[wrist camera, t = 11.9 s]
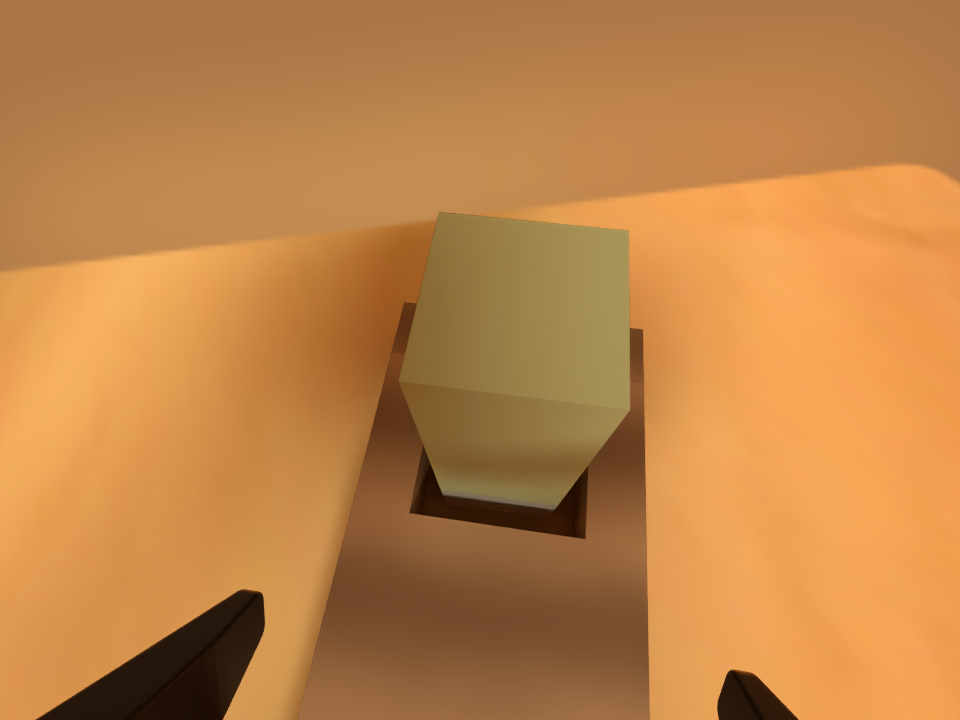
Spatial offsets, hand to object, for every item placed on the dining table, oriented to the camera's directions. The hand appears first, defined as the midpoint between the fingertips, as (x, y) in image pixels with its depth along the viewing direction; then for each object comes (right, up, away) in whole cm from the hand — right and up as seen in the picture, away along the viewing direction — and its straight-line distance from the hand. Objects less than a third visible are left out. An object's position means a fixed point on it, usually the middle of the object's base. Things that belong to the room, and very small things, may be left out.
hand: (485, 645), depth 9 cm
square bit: (+1, +1, +13) cm, 13 cm away
